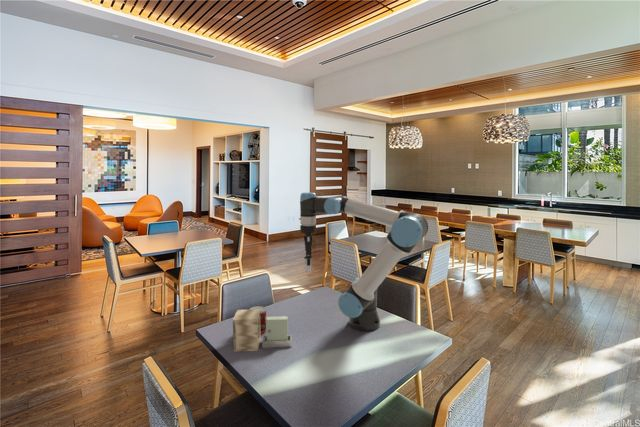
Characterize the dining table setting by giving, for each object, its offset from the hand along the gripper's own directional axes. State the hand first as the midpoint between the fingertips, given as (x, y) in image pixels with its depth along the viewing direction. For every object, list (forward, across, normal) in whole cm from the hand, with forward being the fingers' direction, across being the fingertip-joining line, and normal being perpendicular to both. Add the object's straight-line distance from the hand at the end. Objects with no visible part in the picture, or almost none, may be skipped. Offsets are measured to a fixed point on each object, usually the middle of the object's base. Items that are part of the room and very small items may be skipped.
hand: (308, 267), depth 159 cm
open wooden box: (+29, +19, -27) cm, 44 cm away
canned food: (+29, +7, -24) cm, 38 cm away
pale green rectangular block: (+29, +19, -14) cm, 37 cm away
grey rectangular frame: (+29, +19, -14) cm, 37 cm away
